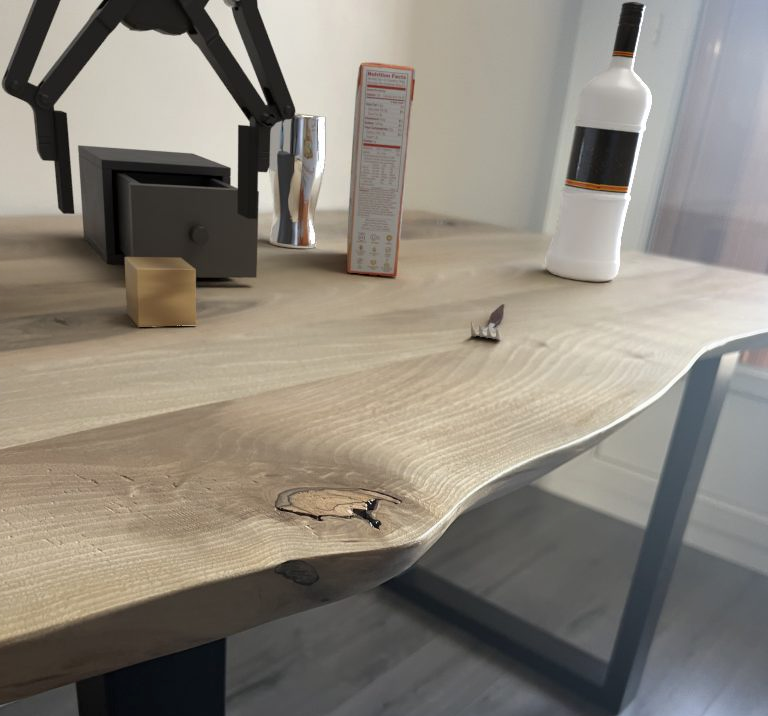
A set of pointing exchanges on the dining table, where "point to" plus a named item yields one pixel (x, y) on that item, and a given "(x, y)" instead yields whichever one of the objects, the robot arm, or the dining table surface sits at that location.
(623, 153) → the vodka
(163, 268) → the block
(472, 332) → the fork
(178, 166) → the small drawer box
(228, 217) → the grey knobbed drawer
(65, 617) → the dining table surface
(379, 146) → the cracker box
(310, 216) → the beer glass
